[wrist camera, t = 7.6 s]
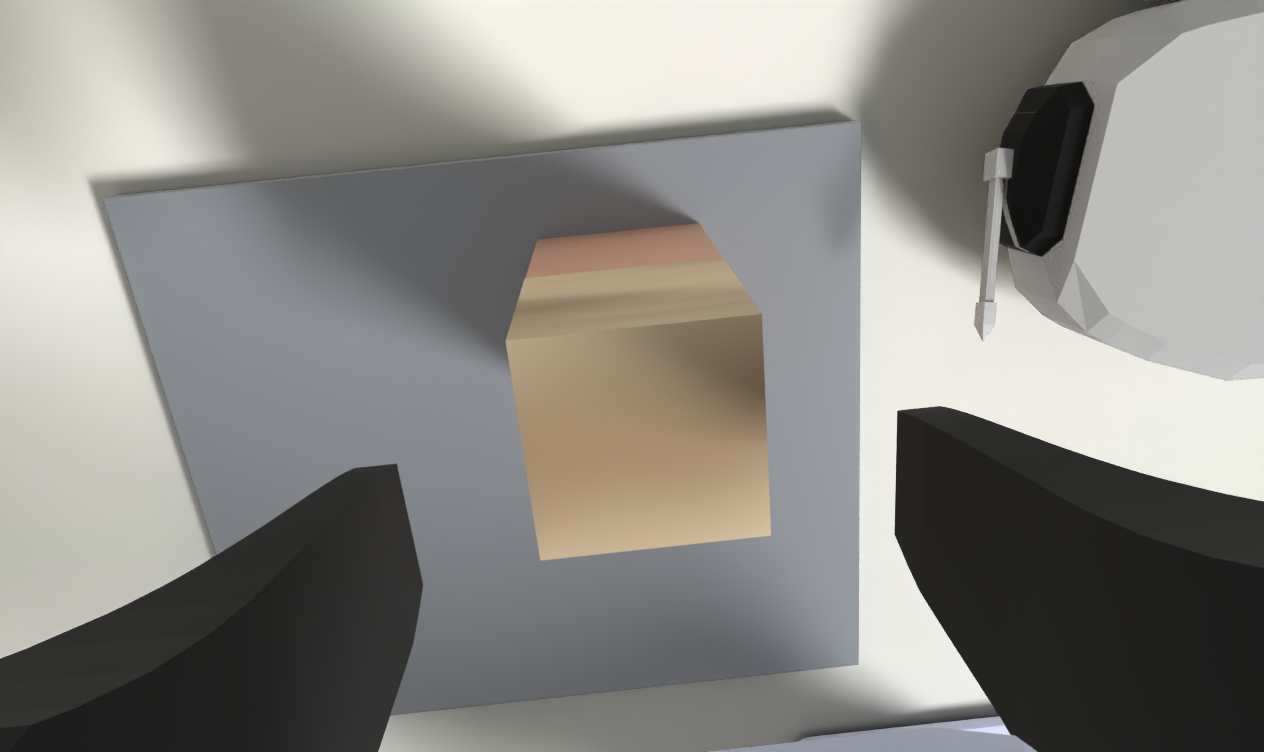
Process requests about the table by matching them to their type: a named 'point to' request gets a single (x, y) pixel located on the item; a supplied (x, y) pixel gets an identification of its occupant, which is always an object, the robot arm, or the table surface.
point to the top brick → (641, 408)
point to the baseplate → (484, 398)
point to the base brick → (621, 250)
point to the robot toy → (1142, 189)
